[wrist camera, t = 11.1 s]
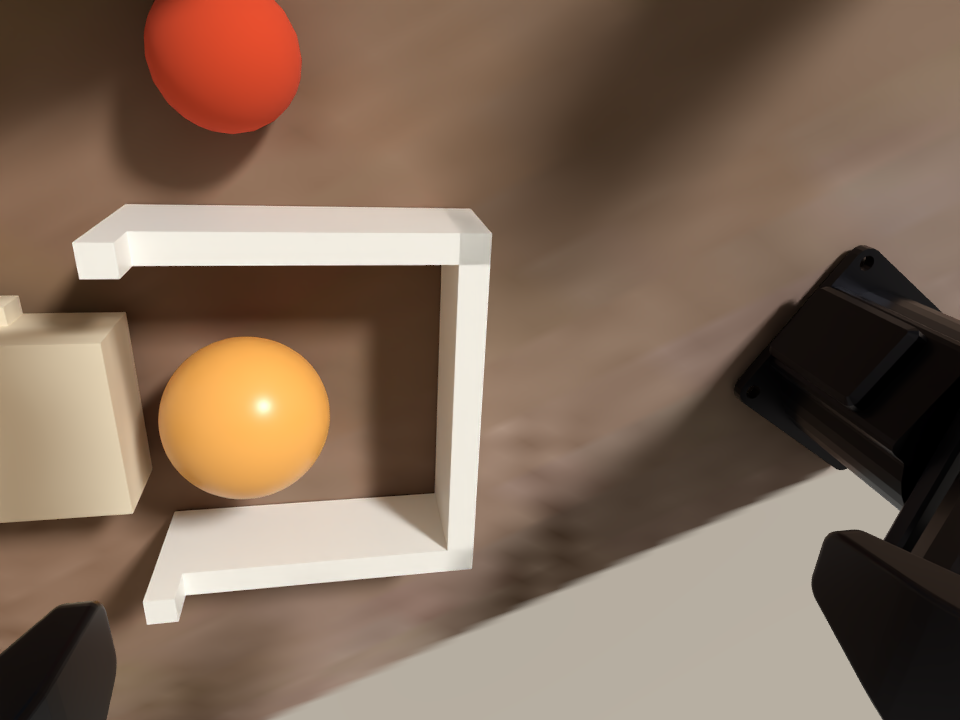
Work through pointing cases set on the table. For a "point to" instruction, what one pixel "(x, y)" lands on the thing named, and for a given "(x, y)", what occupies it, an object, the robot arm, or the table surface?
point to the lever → (223, 61)
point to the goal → (337, 523)
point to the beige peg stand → (69, 416)
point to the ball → (244, 417)
